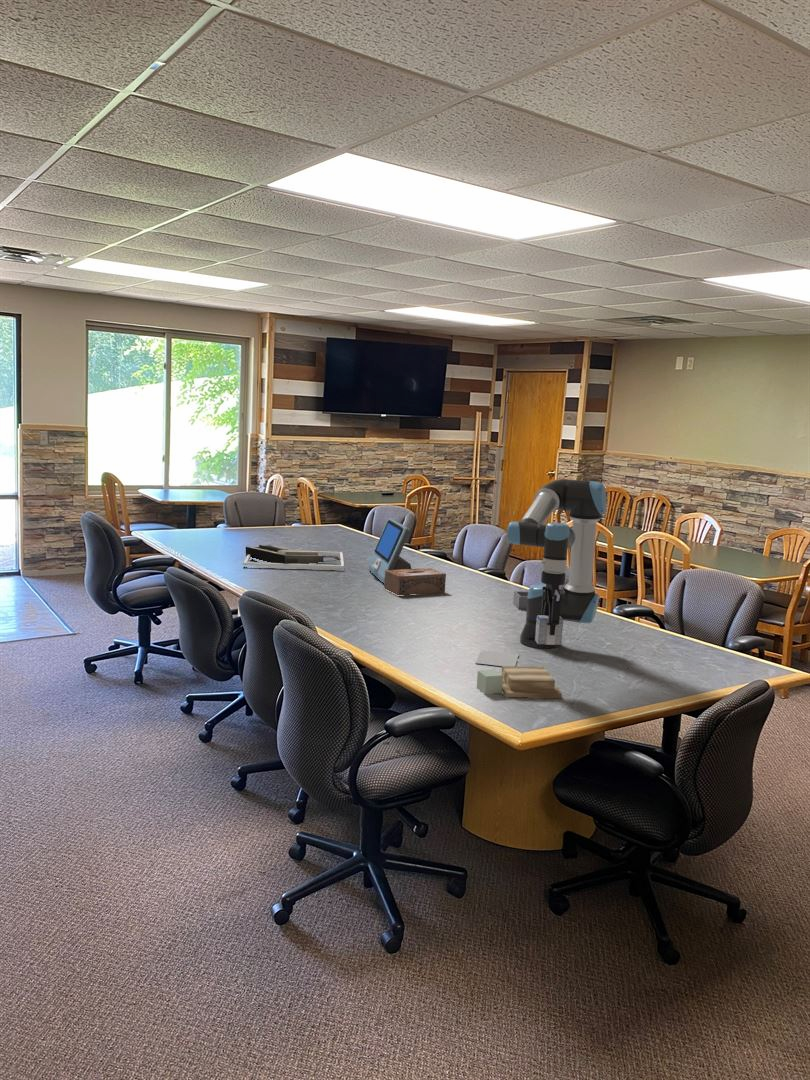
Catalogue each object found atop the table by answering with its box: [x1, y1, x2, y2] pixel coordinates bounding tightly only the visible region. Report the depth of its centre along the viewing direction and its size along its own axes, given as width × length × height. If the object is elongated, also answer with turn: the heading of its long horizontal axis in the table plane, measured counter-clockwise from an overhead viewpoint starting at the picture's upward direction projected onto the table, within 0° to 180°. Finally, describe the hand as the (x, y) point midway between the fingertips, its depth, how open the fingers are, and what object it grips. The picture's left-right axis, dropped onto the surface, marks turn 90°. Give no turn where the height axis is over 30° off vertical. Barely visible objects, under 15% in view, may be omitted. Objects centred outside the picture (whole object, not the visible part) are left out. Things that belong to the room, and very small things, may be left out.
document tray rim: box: [243, 550, 345, 570], centre depth 457 cm, size 42×53×3 cm
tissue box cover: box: [383, 567, 447, 595], centre depth 399 cm, size 26×14×10 cm, turn 118°
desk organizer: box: [512, 590, 529, 611], centre depth 380 cm, size 11×21×6 cm, turn 95°
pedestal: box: [501, 666, 563, 699], centre depth 266 cm, size 18×18×5 cm
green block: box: [476, 669, 503, 695], centre depth 262 cm, size 6×6×6 cm
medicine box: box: [535, 615, 565, 646], centre depth 266 cm, size 8×4×9 cm, turn 93°
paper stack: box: [475, 649, 520, 667], centre depth 291 cm, size 23×25×1 cm
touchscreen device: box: [368, 517, 412, 585], centre depth 426 cm, size 35×20×30 cm, turn 15°
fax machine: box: [245, 544, 341, 564], centre depth 457 cm, size 45×34×10 cm
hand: (547, 641), depth 266 cm, fingers closed on medicine box, 5 cm apart
